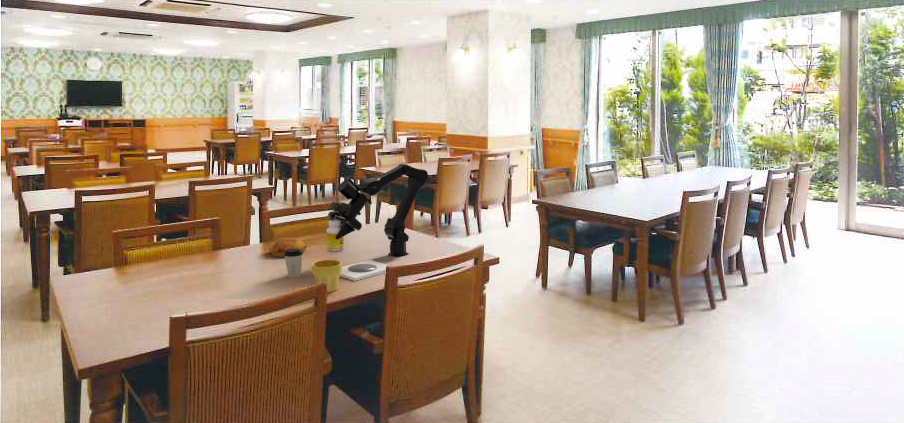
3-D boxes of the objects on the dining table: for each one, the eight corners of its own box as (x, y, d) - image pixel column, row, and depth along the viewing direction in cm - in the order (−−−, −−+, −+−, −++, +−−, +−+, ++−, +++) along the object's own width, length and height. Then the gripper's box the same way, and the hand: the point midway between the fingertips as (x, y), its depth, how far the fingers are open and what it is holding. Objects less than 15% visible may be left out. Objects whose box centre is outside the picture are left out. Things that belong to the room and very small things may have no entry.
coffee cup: (307, 274, 242) (306, 249, 240) (297, 279, 235) (295, 253, 233) (291, 272, 244) (290, 247, 242) (281, 277, 238) (279, 252, 236)
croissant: (278, 253, 282) (275, 236, 281) (310, 250, 280) (307, 232, 279) (263, 261, 268) (260, 243, 267) (297, 257, 266) (294, 239, 265)
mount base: (369, 262, 257) (369, 259, 257) (395, 269, 247) (395, 266, 246) (329, 273, 243) (329, 269, 243) (355, 281, 232) (355, 277, 232)
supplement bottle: (342, 255, 248) (340, 223, 245) (325, 255, 248) (324, 223, 245) (345, 250, 254) (344, 220, 252) (329, 250, 255) (328, 219, 252)
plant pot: (316, 296, 215) (314, 268, 214) (310, 287, 225) (308, 261, 223) (345, 291, 220) (344, 264, 218) (338, 284, 229) (337, 258, 227)
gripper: (330, 191, 256) (307, 221, 252) (353, 197, 242) (329, 229, 237) (348, 207, 262) (326, 237, 258) (372, 214, 248) (348, 246, 243)
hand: (332, 237), depth 249 cm, fingers closed on supplement bottle, 7 cm apart
